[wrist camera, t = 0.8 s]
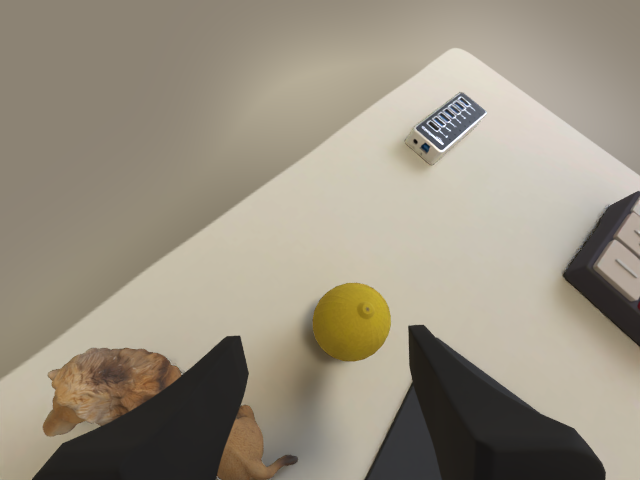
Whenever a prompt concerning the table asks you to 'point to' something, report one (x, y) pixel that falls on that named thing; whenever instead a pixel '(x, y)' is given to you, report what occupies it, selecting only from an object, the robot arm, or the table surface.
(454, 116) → the multiport hub
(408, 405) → the desk mat
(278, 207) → the table surface
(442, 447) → the robot arm
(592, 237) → the button control box
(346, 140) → the table surface
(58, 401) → the lion figurine
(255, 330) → the table surface
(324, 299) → the lemon
